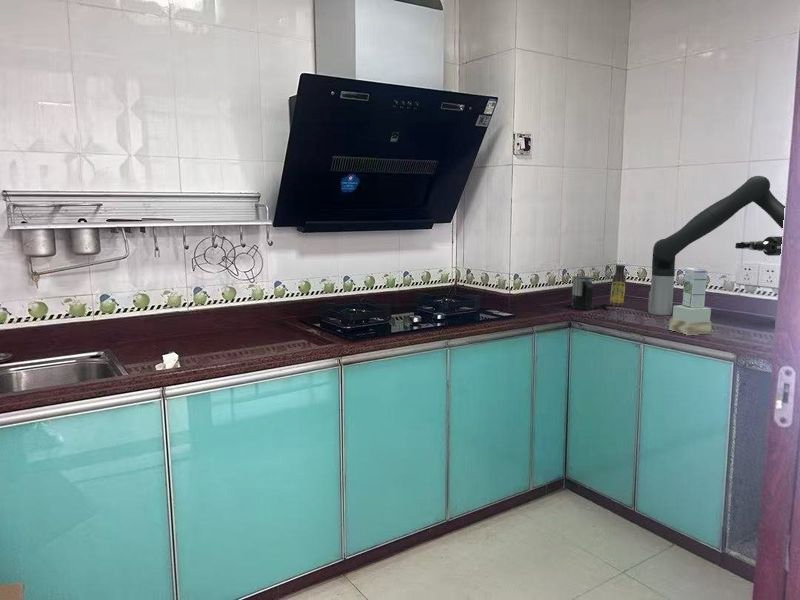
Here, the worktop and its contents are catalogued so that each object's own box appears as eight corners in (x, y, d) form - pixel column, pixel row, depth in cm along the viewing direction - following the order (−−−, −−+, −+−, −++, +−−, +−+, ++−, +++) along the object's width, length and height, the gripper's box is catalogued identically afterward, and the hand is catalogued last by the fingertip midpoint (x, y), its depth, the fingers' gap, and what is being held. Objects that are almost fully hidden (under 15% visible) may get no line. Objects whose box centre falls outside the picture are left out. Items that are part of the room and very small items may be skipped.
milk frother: (566, 307, 283) (568, 276, 281) (592, 305, 290) (594, 274, 287) (587, 311, 270) (589, 279, 268) (614, 309, 277) (616, 278, 275)
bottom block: (669, 331, 229) (670, 318, 228) (690, 329, 232) (691, 317, 231) (689, 336, 220) (690, 323, 219) (710, 334, 223) (711, 321, 222)
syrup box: (704, 308, 222) (708, 269, 220) (689, 308, 222) (693, 269, 219) (695, 305, 228) (699, 267, 226) (680, 305, 227) (684, 267, 225)
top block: (672, 318, 228) (673, 305, 227) (691, 317, 230) (693, 304, 230) (689, 322, 219) (690, 309, 219) (709, 321, 222) (711, 308, 221)
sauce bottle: (609, 306, 287) (612, 264, 284) (609, 304, 293) (612, 263, 290) (624, 306, 285) (626, 265, 282) (624, 305, 291) (626, 264, 288)
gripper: (764, 235, 243) (731, 235, 239) (795, 237, 229) (760, 237, 225) (762, 254, 244) (729, 254, 240) (793, 256, 230) (758, 257, 226)
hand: (744, 246), depth 232 cm, fingers open, 8 cm apart
